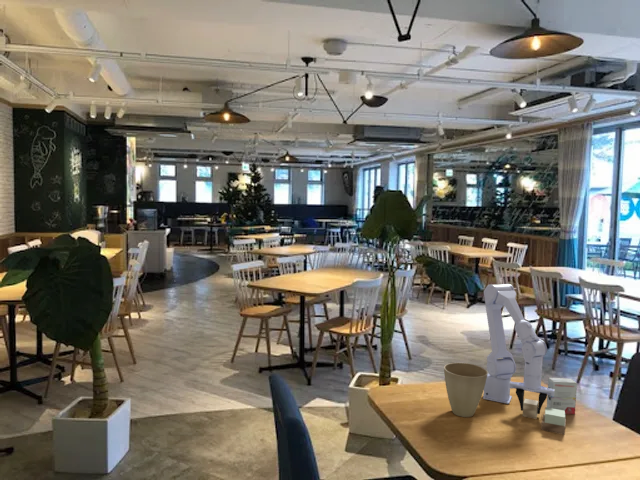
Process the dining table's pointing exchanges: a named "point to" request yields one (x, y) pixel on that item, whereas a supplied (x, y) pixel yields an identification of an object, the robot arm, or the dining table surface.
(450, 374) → the plant pot
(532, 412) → the maple block
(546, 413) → the sage top block
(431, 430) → the dining table surface
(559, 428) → the walnut base block
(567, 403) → the ink box
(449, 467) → the dining table surface
